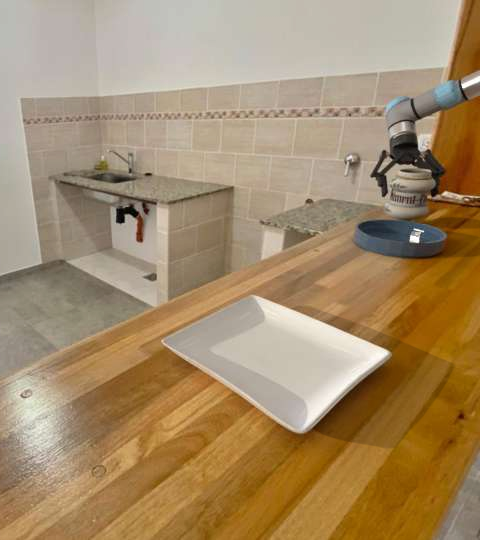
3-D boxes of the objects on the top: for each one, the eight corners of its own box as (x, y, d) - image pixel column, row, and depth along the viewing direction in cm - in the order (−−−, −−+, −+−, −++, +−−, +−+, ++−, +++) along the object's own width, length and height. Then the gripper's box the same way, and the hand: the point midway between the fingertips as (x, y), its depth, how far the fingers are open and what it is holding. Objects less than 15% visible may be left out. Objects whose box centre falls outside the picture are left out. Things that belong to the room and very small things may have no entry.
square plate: (299, 455, 49) (303, 433, 48) (158, 356, 70) (158, 338, 68) (390, 368, 63) (396, 348, 62) (251, 306, 84) (252, 291, 82)
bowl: (439, 238, 113) (444, 224, 111) (444, 264, 97) (449, 248, 95) (356, 229, 124) (359, 216, 123) (348, 251, 109) (351, 236, 107)
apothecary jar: (373, 226, 126) (386, 171, 118) (385, 218, 133) (398, 165, 125) (418, 234, 117) (434, 175, 110) (428, 224, 124) (444, 168, 117)
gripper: (440, 145, 127) (449, 201, 120) (356, 147, 134) (360, 200, 127) (453, 130, 120) (464, 188, 113) (364, 133, 127) (369, 188, 120)
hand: (409, 195), depth 120 cm, fingers open, 13 cm apart
